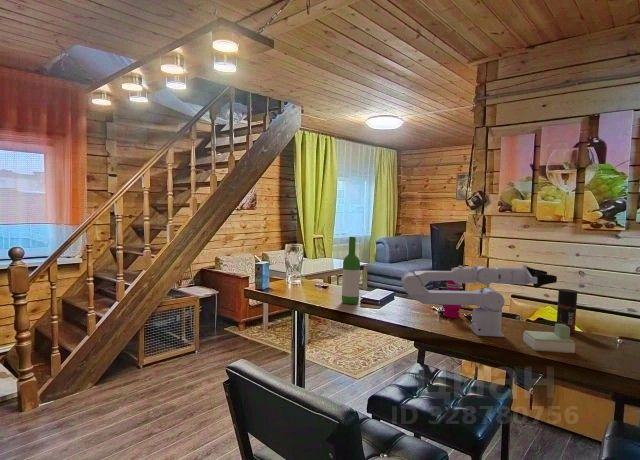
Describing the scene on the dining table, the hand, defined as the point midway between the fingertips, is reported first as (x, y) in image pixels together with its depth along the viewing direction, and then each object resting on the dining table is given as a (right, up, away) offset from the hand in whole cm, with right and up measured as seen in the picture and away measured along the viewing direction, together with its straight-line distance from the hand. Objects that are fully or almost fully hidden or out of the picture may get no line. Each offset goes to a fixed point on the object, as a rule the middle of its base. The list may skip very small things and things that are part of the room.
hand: (551, 276), depth 139 cm
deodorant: (+11, -21, +10) cm, 26 cm away
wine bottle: (-66, -17, +44) cm, 81 cm away
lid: (-6, -19, -9) cm, 22 cm away
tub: (-6, -22, -9) cm, 24 cm away
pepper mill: (-26, -19, +26) cm, 42 cm away
